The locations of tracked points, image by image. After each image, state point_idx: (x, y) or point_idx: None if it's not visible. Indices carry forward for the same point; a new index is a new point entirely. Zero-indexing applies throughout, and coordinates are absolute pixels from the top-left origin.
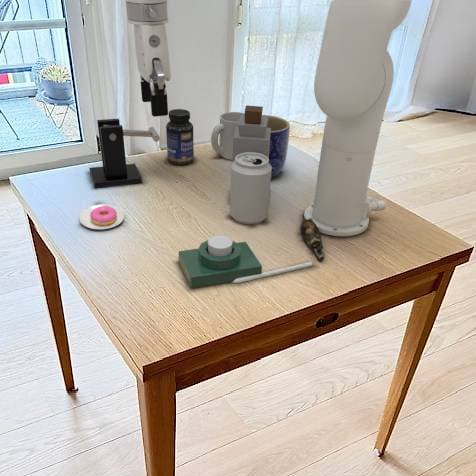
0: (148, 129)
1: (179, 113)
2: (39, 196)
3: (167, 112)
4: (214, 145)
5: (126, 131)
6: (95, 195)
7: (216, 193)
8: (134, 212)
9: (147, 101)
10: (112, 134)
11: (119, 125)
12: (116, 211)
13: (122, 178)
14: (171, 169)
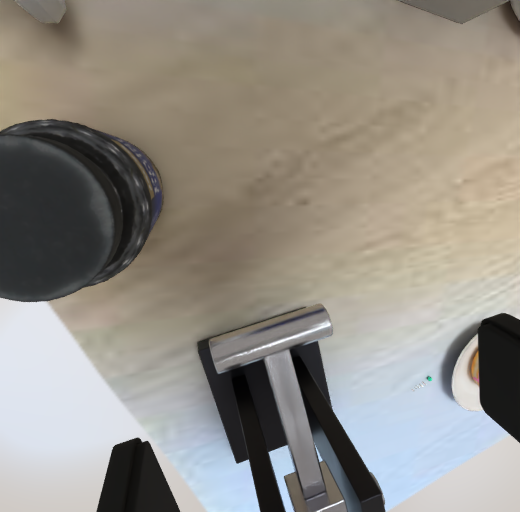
0: (224, 371)
1: (52, 222)
2: None
3: (515, 321)
4: (64, 6)
5: (317, 458)
6: (366, 404)
7: (390, 67)
8: (460, 302)
9: (172, 497)
10: (383, 498)
11: (367, 508)
12: (472, 343)
13: (312, 365)
14: (198, 224)
